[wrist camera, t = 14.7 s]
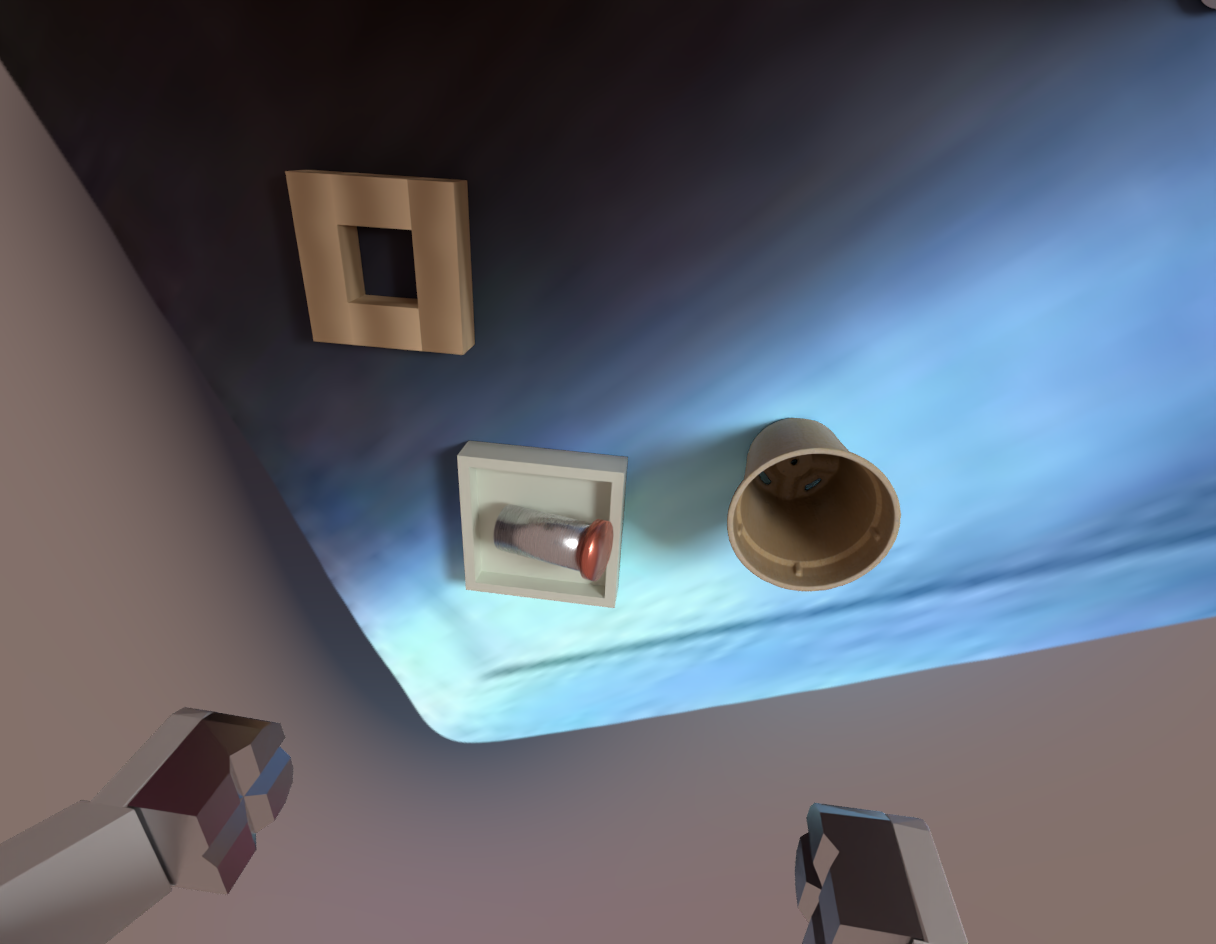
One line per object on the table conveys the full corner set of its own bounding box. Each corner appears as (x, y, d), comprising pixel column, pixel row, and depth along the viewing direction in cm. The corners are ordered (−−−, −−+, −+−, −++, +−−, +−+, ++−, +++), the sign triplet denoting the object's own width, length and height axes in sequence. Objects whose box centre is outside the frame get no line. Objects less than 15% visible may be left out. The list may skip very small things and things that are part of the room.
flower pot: (697, 481, 45) (697, 550, 37) (768, 368, 41) (785, 420, 33) (812, 536, 46) (834, 615, 38) (894, 432, 42) (938, 496, 34)
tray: (628, 456, 45) (624, 473, 43) (618, 587, 50) (614, 608, 48) (468, 440, 46) (457, 455, 44) (476, 570, 51) (465, 589, 49)
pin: (519, 489, 46) (614, 510, 44) (521, 537, 48) (612, 560, 46) (488, 515, 43) (589, 540, 40) (492, 566, 45) (589, 593, 42)
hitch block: (467, 180, 38) (453, 182, 36) (474, 344, 42) (463, 354, 40) (307, 169, 39) (285, 171, 36) (332, 331, 43) (313, 341, 41)
